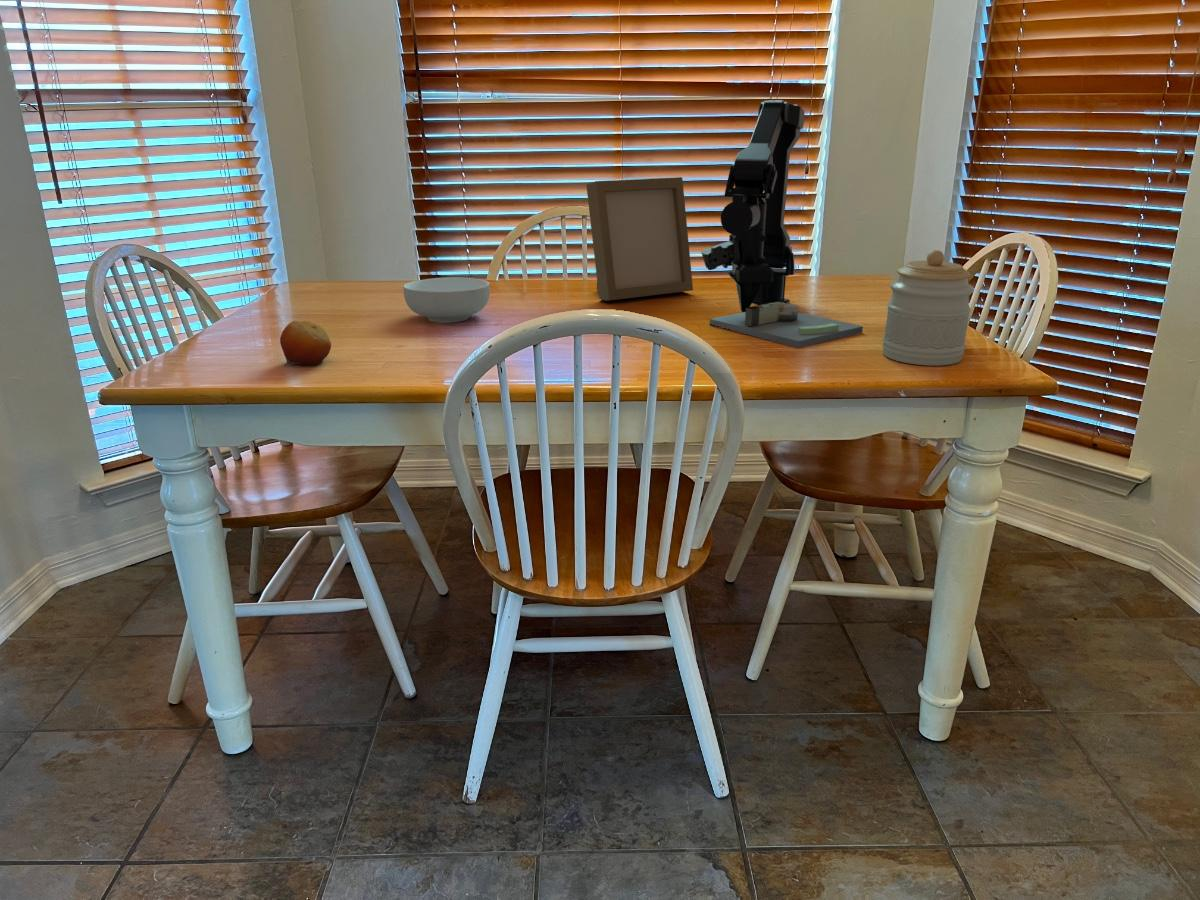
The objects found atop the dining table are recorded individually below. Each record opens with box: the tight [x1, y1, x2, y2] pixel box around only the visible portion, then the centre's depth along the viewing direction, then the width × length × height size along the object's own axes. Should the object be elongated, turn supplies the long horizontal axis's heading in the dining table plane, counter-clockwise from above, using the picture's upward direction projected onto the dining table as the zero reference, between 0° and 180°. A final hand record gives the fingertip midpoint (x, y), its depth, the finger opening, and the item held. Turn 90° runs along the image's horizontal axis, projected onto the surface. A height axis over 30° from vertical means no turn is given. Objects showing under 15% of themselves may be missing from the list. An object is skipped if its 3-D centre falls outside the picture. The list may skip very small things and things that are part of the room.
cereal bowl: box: [402, 276, 491, 324], centre depth 172 cm, size 17×17×7 cm
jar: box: [882, 249, 975, 367], centre depth 142 cm, size 13×13×18 cm
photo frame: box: [586, 176, 694, 302], centre depth 191 cm, size 15×22×25 cm
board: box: [709, 311, 864, 349], centre depth 163 cm, size 18×22×2 cm
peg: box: [745, 302, 799, 326], centre depth 163 cm, size 12×5×3 cm, turn 127°
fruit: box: [279, 320, 332, 367], centre depth 141 cm, size 8×8×8 cm
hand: (744, 311), depth 165 cm, fingers closed
